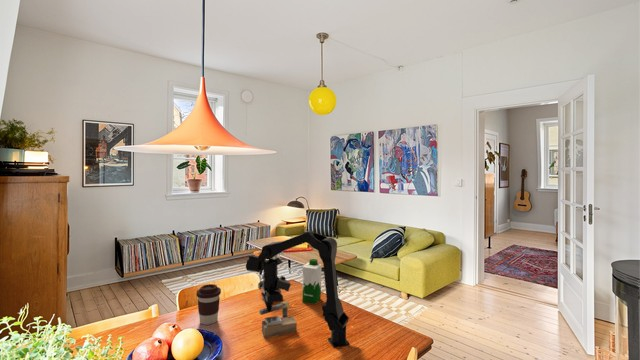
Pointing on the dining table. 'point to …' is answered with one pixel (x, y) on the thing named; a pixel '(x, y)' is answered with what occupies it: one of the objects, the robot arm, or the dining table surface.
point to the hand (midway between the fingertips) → (269, 311)
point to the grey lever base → (280, 326)
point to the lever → (275, 307)
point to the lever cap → (273, 321)
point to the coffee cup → (208, 303)
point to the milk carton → (311, 282)
